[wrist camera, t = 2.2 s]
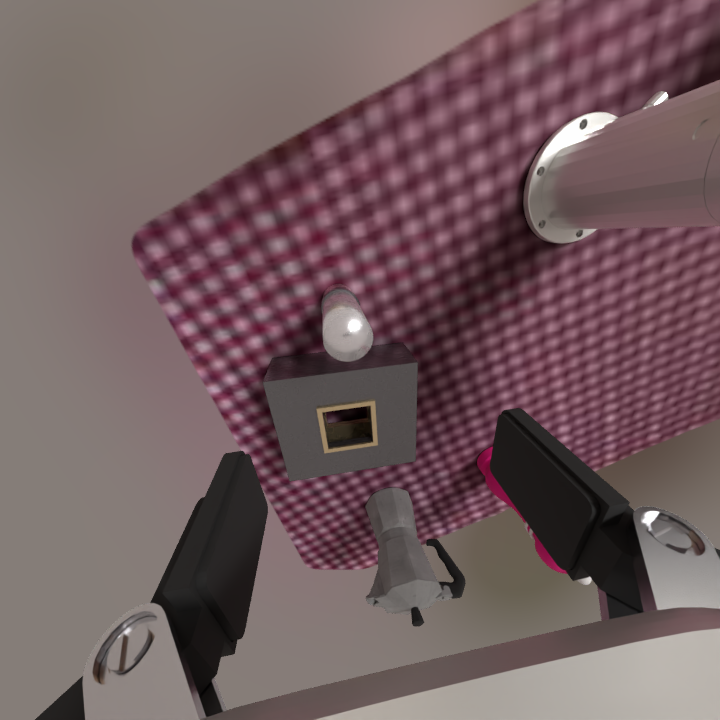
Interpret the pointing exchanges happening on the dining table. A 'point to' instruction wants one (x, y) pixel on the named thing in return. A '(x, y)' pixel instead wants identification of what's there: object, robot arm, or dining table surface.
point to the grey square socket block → (337, 392)
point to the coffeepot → (405, 559)
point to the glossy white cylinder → (344, 324)
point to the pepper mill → (494, 486)
